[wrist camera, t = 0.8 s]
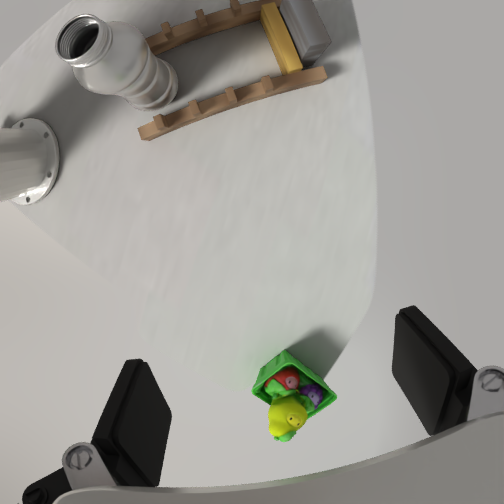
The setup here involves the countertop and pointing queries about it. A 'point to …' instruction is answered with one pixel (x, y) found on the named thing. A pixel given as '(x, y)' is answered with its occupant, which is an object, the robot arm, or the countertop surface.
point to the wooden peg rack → (281, 40)
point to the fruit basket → (290, 394)
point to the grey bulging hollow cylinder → (116, 62)
